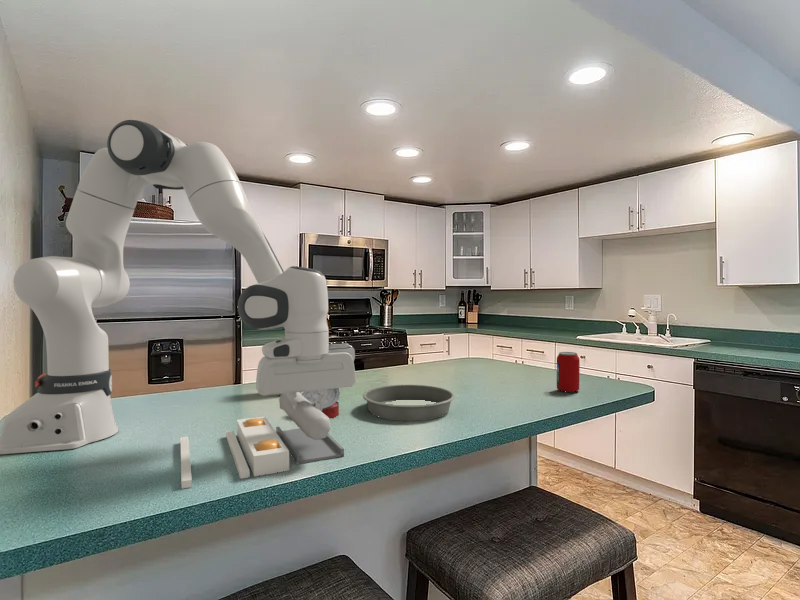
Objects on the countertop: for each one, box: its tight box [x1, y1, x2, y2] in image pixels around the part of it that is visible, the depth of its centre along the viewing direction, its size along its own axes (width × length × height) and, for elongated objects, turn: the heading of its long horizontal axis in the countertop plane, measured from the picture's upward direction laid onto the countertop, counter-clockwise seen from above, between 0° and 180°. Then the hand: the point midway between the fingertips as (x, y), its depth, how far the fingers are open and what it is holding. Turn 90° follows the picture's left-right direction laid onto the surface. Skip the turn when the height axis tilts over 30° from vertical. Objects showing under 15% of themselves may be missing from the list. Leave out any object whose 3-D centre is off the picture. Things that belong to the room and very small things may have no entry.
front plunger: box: [257, 440, 277, 451], centre depth 85 cm, size 4×4×4 cm
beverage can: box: [556, 351, 581, 393], centre depth 146 cm, size 7×7×12 cm
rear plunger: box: [245, 417, 263, 427], centre depth 100 cm, size 4×4×4 cm
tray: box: [275, 426, 345, 465], centre depth 96 cm, size 9×20×2 cm, turn 26°
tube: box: [278, 392, 332, 440], centre depth 96 cm, size 5×5×25 cm
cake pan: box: [362, 384, 456, 421], centre depth 124 cm, size 25×25×4 cm
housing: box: [179, 416, 290, 489], centre depth 90 cm, size 17×25×4 cm
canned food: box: [301, 388, 341, 419], centre depth 119 cm, size 11×10×10 cm
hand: (307, 412), depth 96 cm, fingers closed on tube, 3 cm apart
